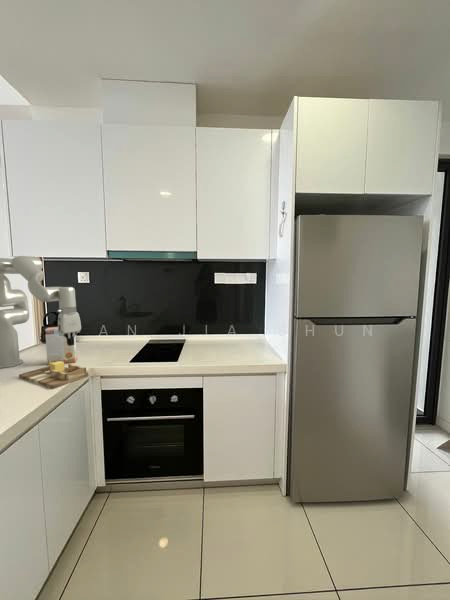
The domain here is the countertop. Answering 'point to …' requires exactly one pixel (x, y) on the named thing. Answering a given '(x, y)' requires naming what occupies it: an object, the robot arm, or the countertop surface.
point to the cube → (57, 366)
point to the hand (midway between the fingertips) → (70, 345)
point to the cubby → (67, 376)
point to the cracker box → (59, 347)
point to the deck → (48, 377)
